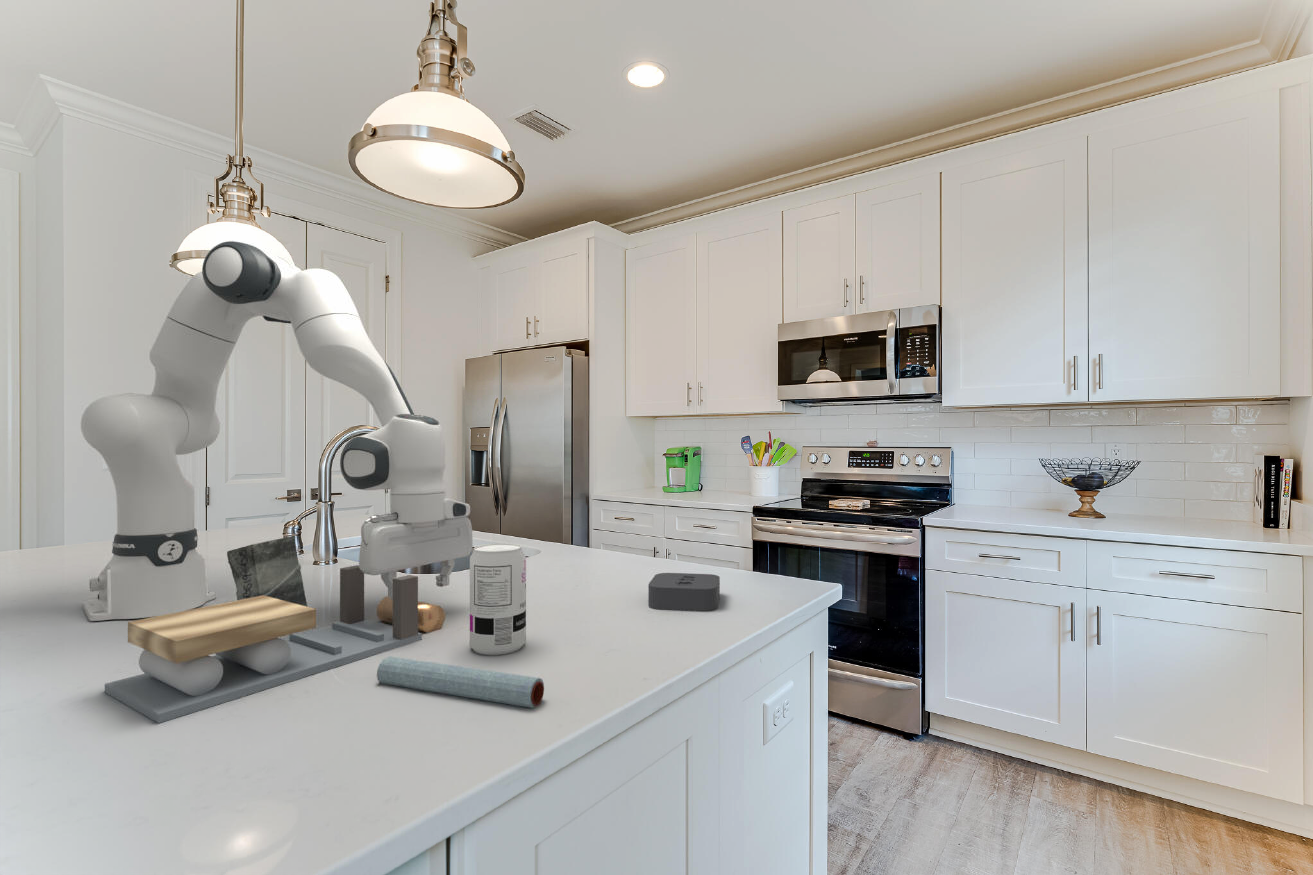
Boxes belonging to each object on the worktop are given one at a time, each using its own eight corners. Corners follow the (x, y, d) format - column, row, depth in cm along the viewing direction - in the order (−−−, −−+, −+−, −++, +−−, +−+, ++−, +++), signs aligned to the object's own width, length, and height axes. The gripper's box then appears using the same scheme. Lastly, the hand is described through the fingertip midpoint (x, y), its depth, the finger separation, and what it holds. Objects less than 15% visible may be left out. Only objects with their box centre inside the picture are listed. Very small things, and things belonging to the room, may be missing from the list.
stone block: (238, 641, 98) (262, 635, 96) (220, 550, 99) (243, 543, 97) (289, 625, 106) (312, 619, 105) (271, 541, 108) (294, 534, 106)
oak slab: (127, 641, 79) (127, 622, 79) (263, 612, 93) (263, 595, 93) (176, 663, 72) (176, 641, 72) (316, 627, 85) (316, 609, 85)
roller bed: (104, 691, 78) (104, 611, 78) (361, 623, 107) (361, 564, 107) (158, 723, 69) (158, 632, 69) (421, 639, 98) (421, 575, 98)
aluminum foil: (545, 702, 76) (545, 673, 76) (515, 726, 70) (515, 695, 70) (394, 678, 84) (394, 652, 84) (355, 697, 77) (355, 669, 77)
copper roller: (385, 627, 108) (372, 608, 106) (403, 608, 111) (391, 590, 109) (430, 639, 102) (417, 619, 100) (449, 618, 105) (437, 599, 103)
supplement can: (458, 647, 94) (458, 547, 94) (506, 635, 101) (506, 541, 101) (488, 660, 89) (488, 554, 89) (536, 646, 95) (536, 547, 95)
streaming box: (716, 614, 113) (716, 589, 113) (646, 611, 115) (646, 586, 115) (720, 597, 125) (720, 574, 125) (657, 594, 127) (657, 572, 127)
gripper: (373, 518, 96) (375, 608, 96) (477, 504, 114) (478, 581, 114) (349, 515, 100) (351, 603, 100) (453, 503, 117) (455, 577, 117)
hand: (419, 591), depth 107 cm, fingers open, 8 cm apart
